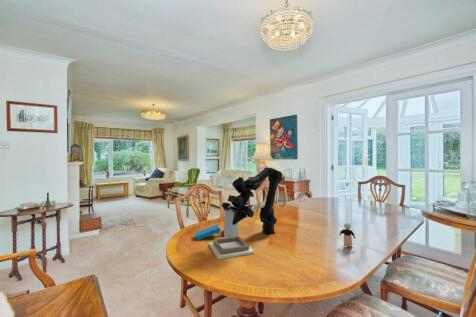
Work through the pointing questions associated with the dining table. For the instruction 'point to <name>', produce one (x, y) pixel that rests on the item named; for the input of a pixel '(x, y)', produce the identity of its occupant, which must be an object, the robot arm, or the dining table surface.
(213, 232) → the lever
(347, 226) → the grandmother figurine
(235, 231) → the brushed metal pillar
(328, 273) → the dining table surface
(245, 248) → the stand
